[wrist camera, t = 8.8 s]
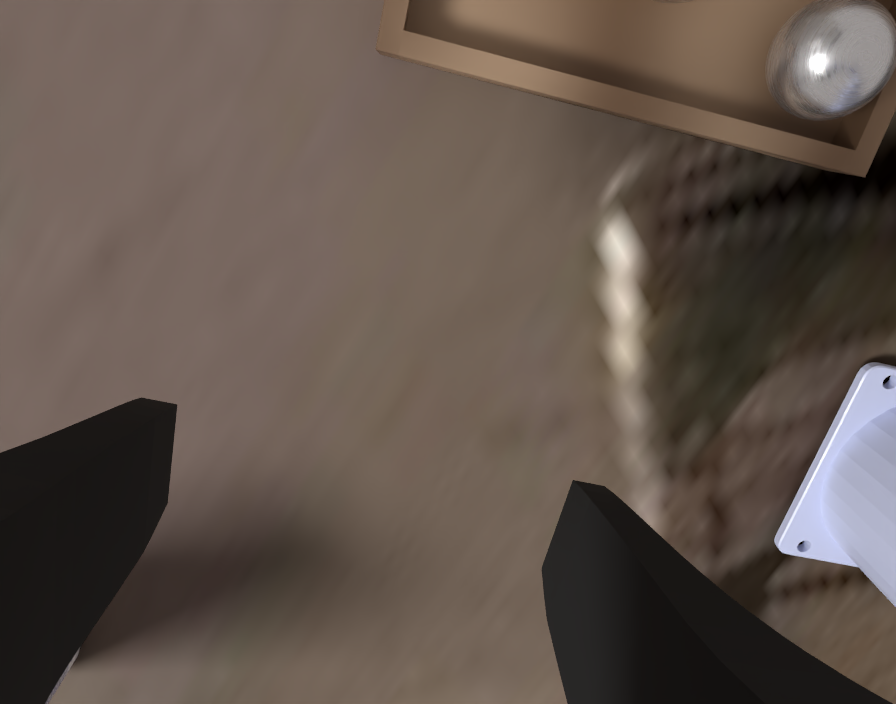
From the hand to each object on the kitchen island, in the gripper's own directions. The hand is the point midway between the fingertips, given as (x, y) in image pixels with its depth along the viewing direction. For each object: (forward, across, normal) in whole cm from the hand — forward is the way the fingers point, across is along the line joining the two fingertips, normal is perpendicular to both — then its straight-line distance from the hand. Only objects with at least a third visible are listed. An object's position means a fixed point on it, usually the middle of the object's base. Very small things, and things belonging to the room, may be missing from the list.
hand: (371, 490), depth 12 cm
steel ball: (+8, -10, -10) cm, 16 cm away
